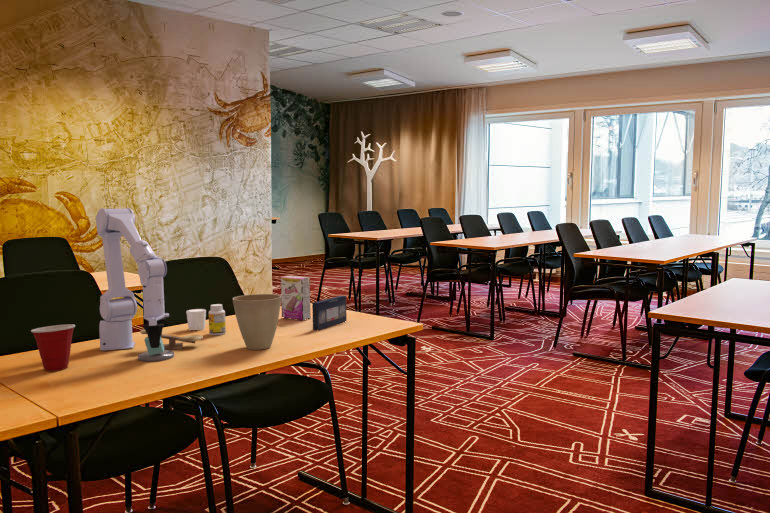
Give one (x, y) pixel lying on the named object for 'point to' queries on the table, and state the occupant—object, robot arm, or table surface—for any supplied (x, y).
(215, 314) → the supplement bottle
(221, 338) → the table surface
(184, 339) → the balance
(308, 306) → the candy bar box
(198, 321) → the white cup
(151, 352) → the block
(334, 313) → the vhs cassette tape
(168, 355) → the dish
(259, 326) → the plant pot
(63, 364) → the plastic cup
